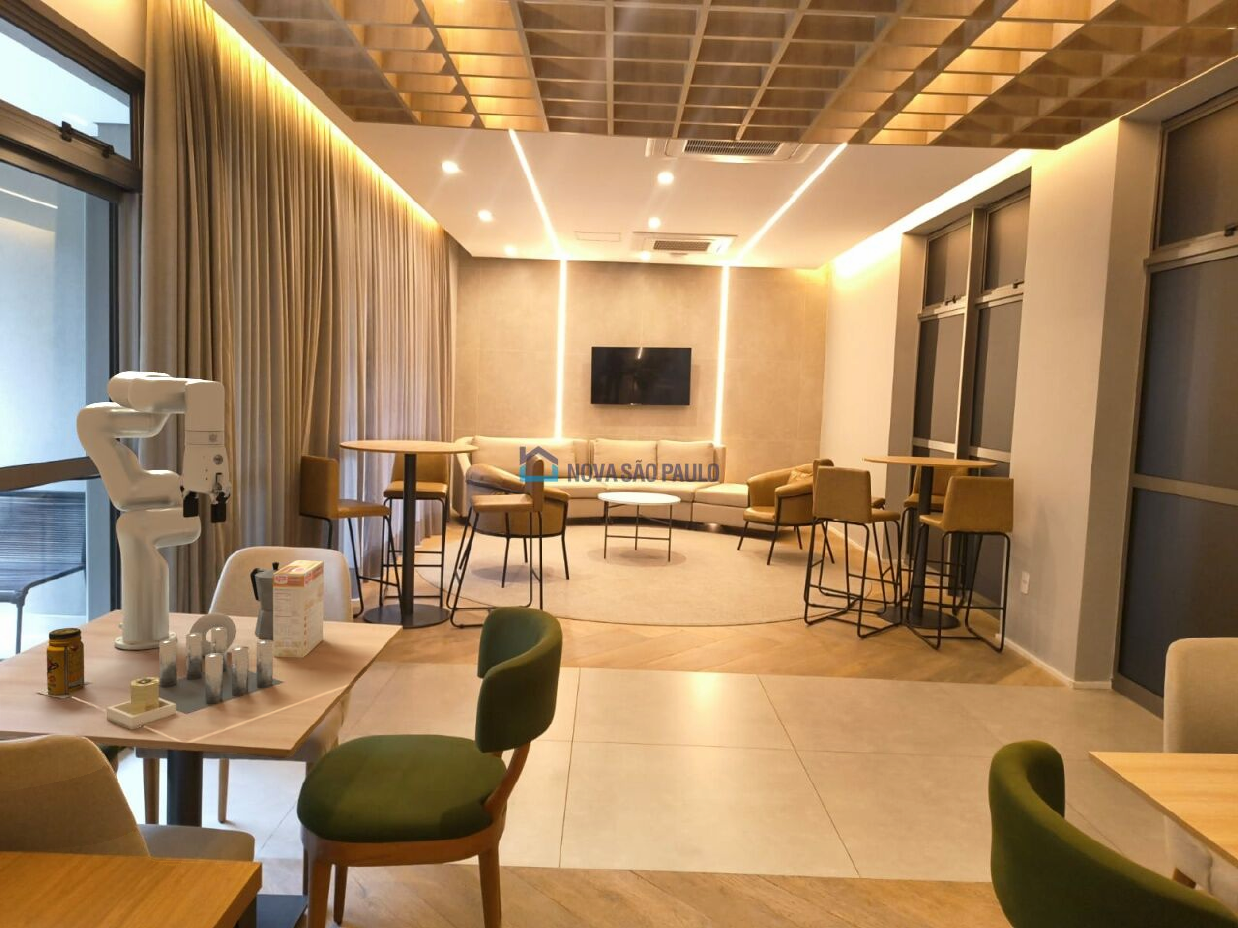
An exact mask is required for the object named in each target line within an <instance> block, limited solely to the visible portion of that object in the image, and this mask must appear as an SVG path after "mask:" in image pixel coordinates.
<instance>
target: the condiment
mask: <svg viewBox="0 0 1238 928" xmlns="http://www.w3.org/2000/svg"><path fill="white" fill-rule="evenodd" d="M84 647H85V645H84V642H83V641H82V630H81V629H80V628H77V627H65V628H64V627H63V628H58V629H54V630H51V631H50V632H49V634H48V645H47V646H46V685H47V687H46V689H44V690H41V691H37V692H36V693H37V694H38V693H39V694H42V695H44V696H49V697H53V698H59V699H65V698H68V697H72V696H73V695H72V694H71V693H75V692H77V691H80V690H82V689H83V688H84V687H85V686H88V685H92V684H94V682H91V681H88V680H85V648H84ZM47 693H48V694H47Z"/></svg>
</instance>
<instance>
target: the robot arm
mask: <svg viewBox="0 0 1238 928" xmlns="http://www.w3.org/2000/svg"><path fill="white" fill-rule="evenodd" d="M106 392H107V395H108V396H109V398H110V400H111V401H112V402H97V403H92V404H89V405H85V406H84V407H82V408H81V409H79V412H77V413H78V414H77V417H76V432H77V433H76V434H77V436H78V440H79V443H80V445H81V446H82V448H83V449H84V451H85V452H86V454H87V455H88V457H89V458H90V460H91V461H92V462H93V463H94V465H95V466H96V468H97V470H98V472H99V475H100V478H101V480H102V482H103V485H104V487H105V490H106V493H107V494H108V497H109V499H110V501H111V503H112V505H113V507H114V508H116V509H117V510H118V511H122V512H124V513H122V514H121V515H120V516H119V517H118V519H117V521H116V523H115V532H116V536H117V537H116V538H117V542H118V546H119V552H120V562H121V622H119V623H118V628H119V629H121V630H122V631H121V632H122V633H121V634H122V635H119V636H118V637H117V638H115V639H114V646H115V647H116V648H118V649H122V650H127V651H128V650H129V651H133V650H134V651H135V650H136V651H137V650H139V651H140V650H141V651H142V650H150V649H151V650H152V649H156V648H157V649H158V648H160V646H159V642H160V641H161V640H165V639H176V640H178V639H177V638H178V636H177V635H178V634H177V633H176V632H174V631H172V630H170V574H169V572H170V571H169V564H168V562H167V561H166V559H165V558H164V557H163V556H162V555H161V553H159V551H158V549H162V548H165V547H166V548H167V547H175V546H176V547H177V546H182V545H188V544H189V545H190V544H192V543H194V542H195V541H197V540H198V539H199V537H200V536H201V533H202V522H201V519H200V516H199V515H200V514H199V513H200V512H199V510H200V507H199V503H200V502H199V497H198V495H199V494H204V495H209V497H210V500H211V502H212V503H210V523H211V524H217V523H226V522H227V504H228V503H229V498H230V496H231V492H232V488H233V484H232V482H230V470H229V460H228V459H229V458H228V454H227V449H226V446H225V401H226V400H225V398H226V397H225V394H226V393H225V392H226V391H225V386H224V384H223V383H222V382H220V381H214V380H204V379H200V378H198V379H197V378H196V379H195V378H185V377H184V378H182V377H177V378H176V377H172V375H169V374H167V373H164V372H163V373H161V372H159V373H158V372H145V371H144V372H142V371H124V372H120V373H118V374H116V375H114V376H112V377H111V378H110V379H109V381H108V383H107V386H106ZM171 414H184V450H183V451H184V452H183V459H182V474H181V475H179V474H178V473H176V471H175V472H174V471H172V470H169V469H168V470H167V469H159V470H158V469H157V470H156V469H155V470H154V469H153V470H147V469H145V468H143V467H142V466H141V464H140V461H139V459H138V457H137V455H136V454H135V452H133V450H131V449H130V448H129V446H128V447H127V445H125V444H123V443H122V442H120V441H119V440H117V439H132V438H133V439H136V438H137V439H138V438H139V439H141V438H142V439H143V438H152V437H154V436H156V435H158V434H159V433H160V432H161V431H162V429H163V428H164V426H165V424H166V422H167V421H168V419H169V418H170V415H171Z"/></svg>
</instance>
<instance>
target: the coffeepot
mask: <svg viewBox="0 0 1238 928" xmlns="http://www.w3.org/2000/svg"><path fill="white" fill-rule="evenodd" d="M271 565H272V569H268V570H267V569H265V568H259V567H255V568H253V570H252V571H251V572H250V575H249V577H250V581H251V586H252V590H253V594H254V598H255V600H256V601H258V602H260V608H259V609H258V615H257V619H256V620H257V621H256V626H255V631H254V635H255V636H256V637H257V638H258V637H259V639H262V638H263V639H262V640H273V573H275V572H277V571H279V570H280V569H281V568H279V566H280V562H277V561H274V562H272V563H271Z"/></svg>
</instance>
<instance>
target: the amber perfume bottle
mask: <svg viewBox="0 0 1238 928" xmlns="http://www.w3.org/2000/svg"><path fill="white" fill-rule="evenodd" d="M159 685H160V677H153V676H152V677H150V676H149V677H148V676H147V677H146V676H145V677H141V678H138V679H133V680H131V681H130V701H131V715H133V716H134V715H137V714H140V713H144V712H147V711H150V710H153V709H157V708H159Z"/></svg>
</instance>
